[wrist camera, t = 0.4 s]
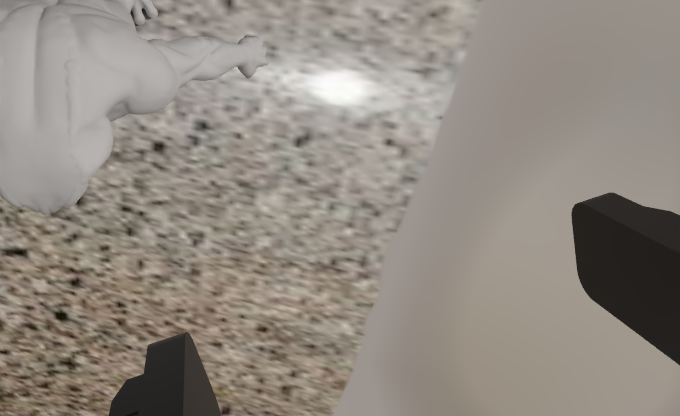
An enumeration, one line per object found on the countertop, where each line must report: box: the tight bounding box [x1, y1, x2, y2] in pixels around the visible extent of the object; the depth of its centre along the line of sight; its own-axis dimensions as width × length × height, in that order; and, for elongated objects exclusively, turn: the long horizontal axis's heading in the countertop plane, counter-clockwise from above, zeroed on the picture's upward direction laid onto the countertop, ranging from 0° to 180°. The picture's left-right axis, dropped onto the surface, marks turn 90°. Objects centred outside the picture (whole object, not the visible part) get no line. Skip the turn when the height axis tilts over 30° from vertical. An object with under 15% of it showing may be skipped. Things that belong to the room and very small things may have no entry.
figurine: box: [0, 0, 269, 215], centre depth 26 cm, size 18×7×18 cm, turn 79°
